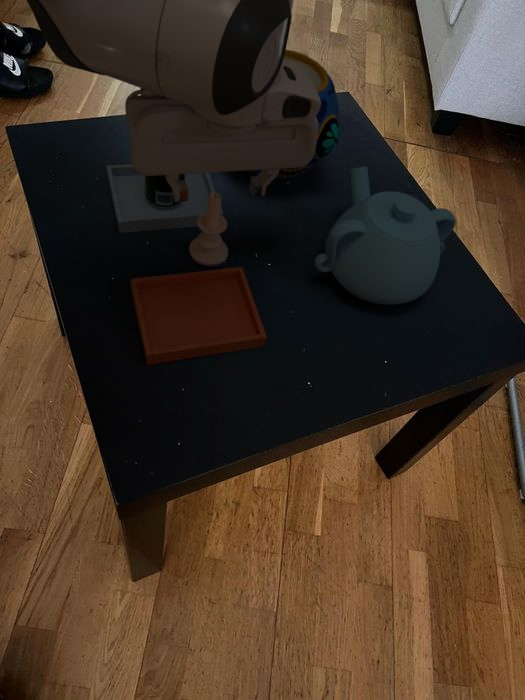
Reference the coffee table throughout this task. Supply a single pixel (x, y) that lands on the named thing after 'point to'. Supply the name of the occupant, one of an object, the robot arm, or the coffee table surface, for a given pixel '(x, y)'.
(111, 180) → the gray tray
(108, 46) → the robot arm
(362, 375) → the coffee table surface
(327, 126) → the ceramic pot
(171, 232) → the coffee table surface
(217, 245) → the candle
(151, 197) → the beer can
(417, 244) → the teapot
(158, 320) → the terracotta tray
